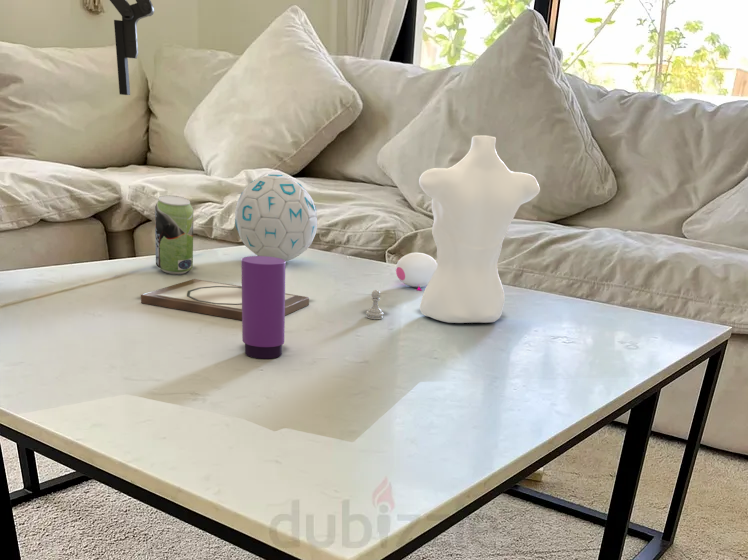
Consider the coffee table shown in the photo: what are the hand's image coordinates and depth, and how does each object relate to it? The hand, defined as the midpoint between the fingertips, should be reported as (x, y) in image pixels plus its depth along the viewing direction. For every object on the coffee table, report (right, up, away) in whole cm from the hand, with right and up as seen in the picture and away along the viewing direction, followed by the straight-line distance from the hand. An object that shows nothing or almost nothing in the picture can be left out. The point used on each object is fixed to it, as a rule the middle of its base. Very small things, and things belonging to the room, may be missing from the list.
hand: (55, 89), depth 80 cm
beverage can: (-2, -3, +52) cm, 52 cm away
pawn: (+32, -15, +35) cm, 50 cm away
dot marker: (+19, -24, +15) cm, 34 cm away
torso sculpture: (+45, -14, +38) cm, 61 cm away
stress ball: (+39, -4, +56) cm, 69 cm away
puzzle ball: (+13, +4, +67) cm, 69 cm away
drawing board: (+11, -13, +35) cm, 39 cm away
